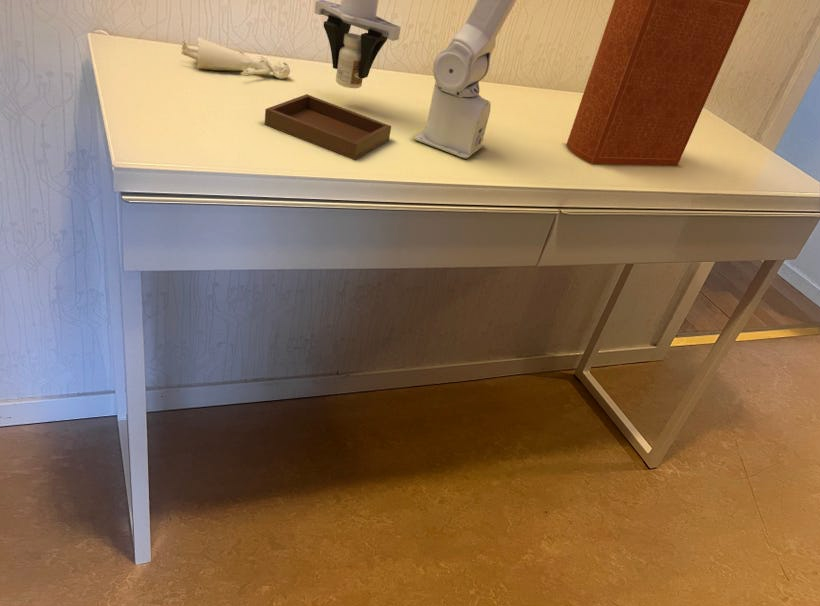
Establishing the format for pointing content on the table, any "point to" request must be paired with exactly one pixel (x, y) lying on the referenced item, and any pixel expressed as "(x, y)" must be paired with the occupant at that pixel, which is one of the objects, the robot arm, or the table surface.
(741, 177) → the table surface
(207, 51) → the woman figurine
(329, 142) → the tray
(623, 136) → the book
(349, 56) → the pill bottle
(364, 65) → the robot arm
